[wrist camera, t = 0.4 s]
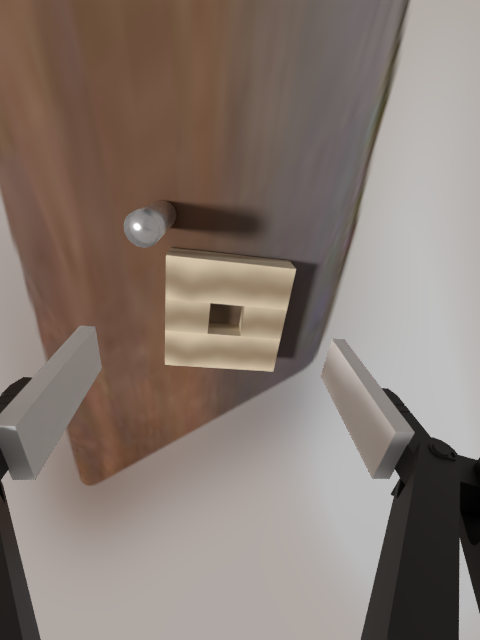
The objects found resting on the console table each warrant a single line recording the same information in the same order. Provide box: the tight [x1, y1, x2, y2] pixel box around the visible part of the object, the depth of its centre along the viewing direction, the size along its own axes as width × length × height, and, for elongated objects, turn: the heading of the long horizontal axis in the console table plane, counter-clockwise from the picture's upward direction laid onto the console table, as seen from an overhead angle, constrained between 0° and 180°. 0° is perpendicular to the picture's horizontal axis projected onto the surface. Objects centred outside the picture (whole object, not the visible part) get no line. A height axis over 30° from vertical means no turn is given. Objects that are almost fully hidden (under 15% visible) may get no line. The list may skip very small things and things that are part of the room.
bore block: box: [165, 247, 296, 371], centre depth 40 cm, size 16×16×4 cm
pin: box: [124, 200, 177, 247], centre depth 30 cm, size 3×3×11 cm
